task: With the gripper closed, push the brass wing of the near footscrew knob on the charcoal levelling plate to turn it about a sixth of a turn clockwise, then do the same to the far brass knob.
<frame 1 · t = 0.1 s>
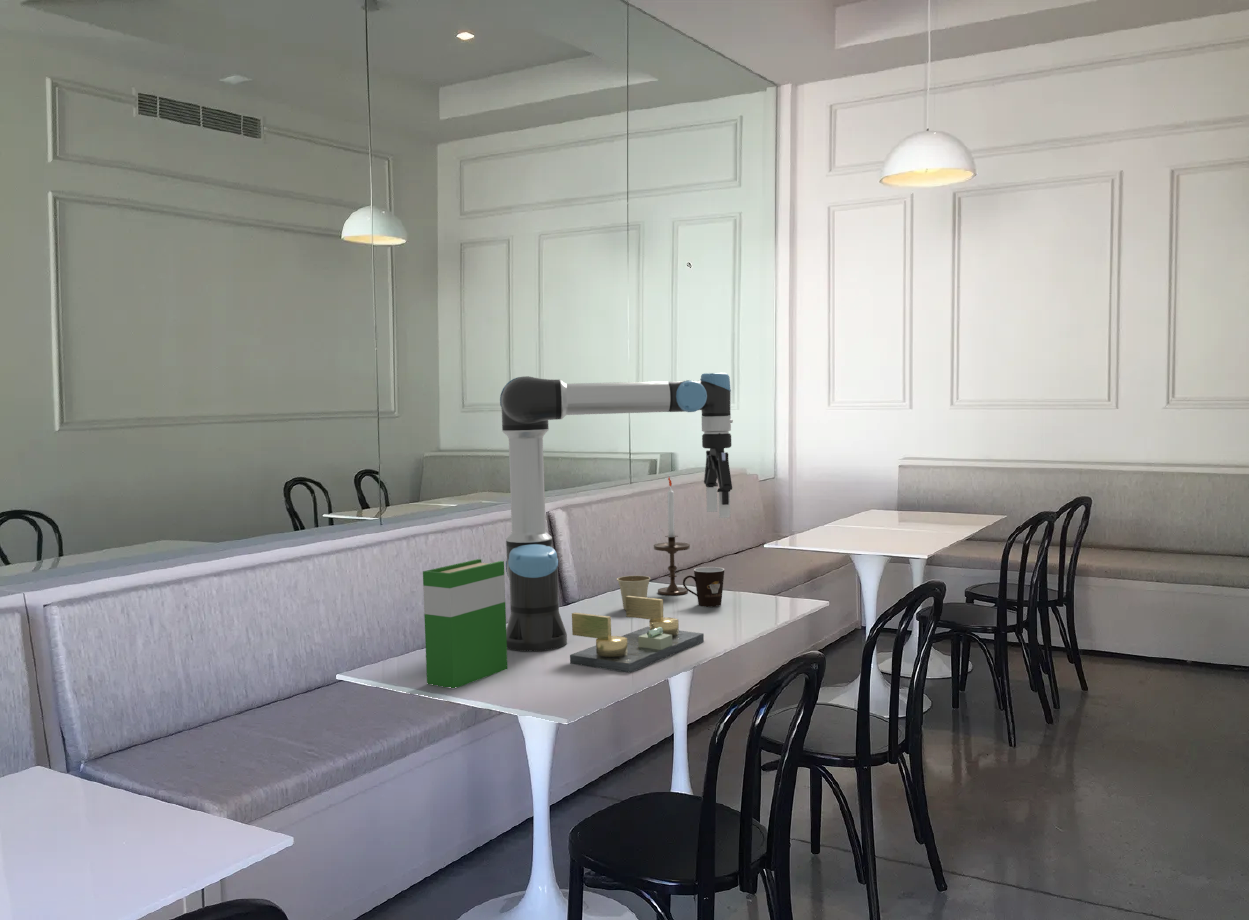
hand: (718, 514, 274), 28 cm above the table, fingers open, 13 cm apart
candlestick: (672, 593, 316), on the table
hardback book: (468, 677, 228), on the table
flower pot: (634, 609, 294), on the table
level plate: (639, 652, 245), on the table
far knob: (651, 615, 255), point 6 cm above the table, hinge at 0.0°
near knob: (598, 633, 237), point 6 cm above the table, hinge at 0.0°
coffee mug: (704, 605, 297), on the table
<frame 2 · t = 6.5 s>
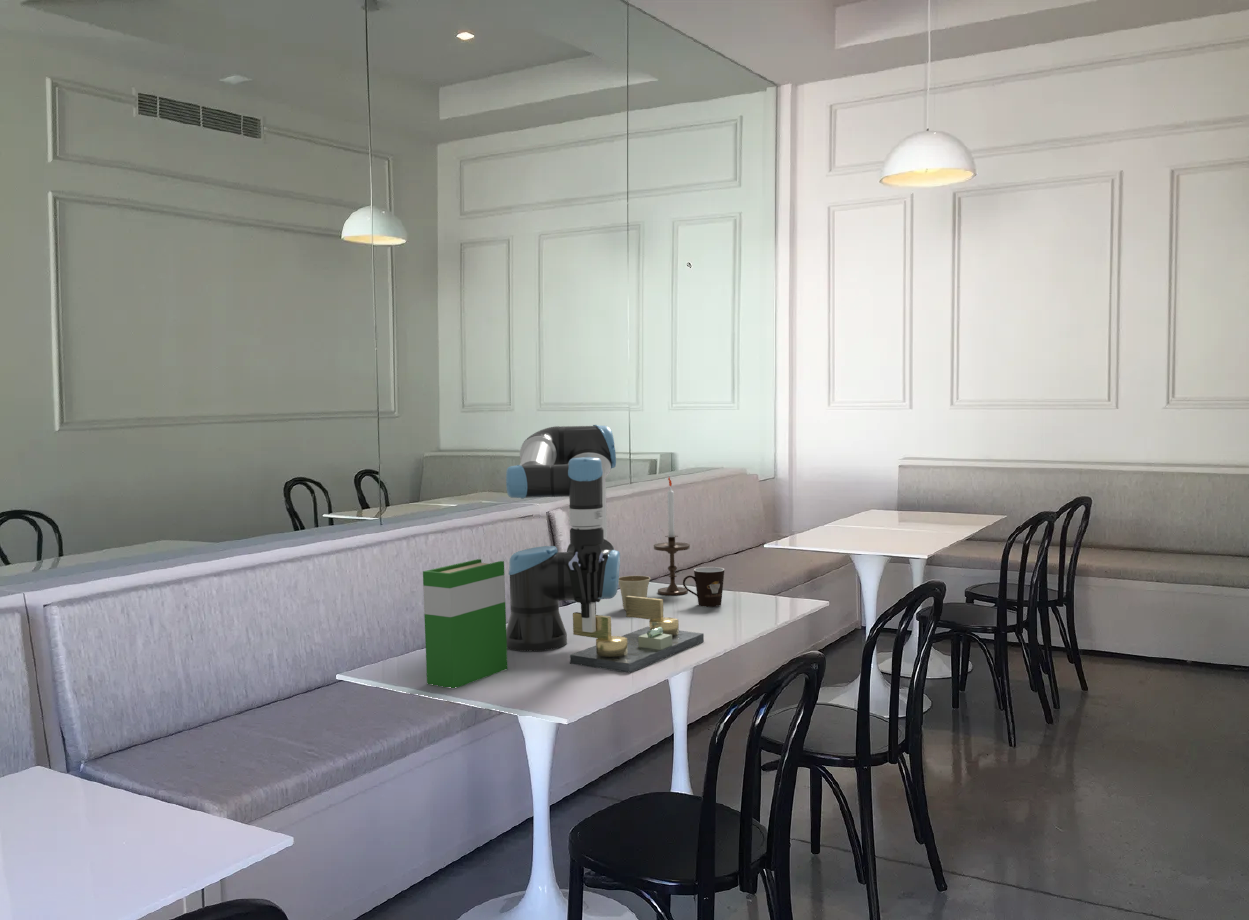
hand: (589, 631, 237), 7 cm above the table, fingers closed
near knob: (599, 633, 237), point 6 cm above the table, hinge at -2.1°, touching gripper
everything else where it was.
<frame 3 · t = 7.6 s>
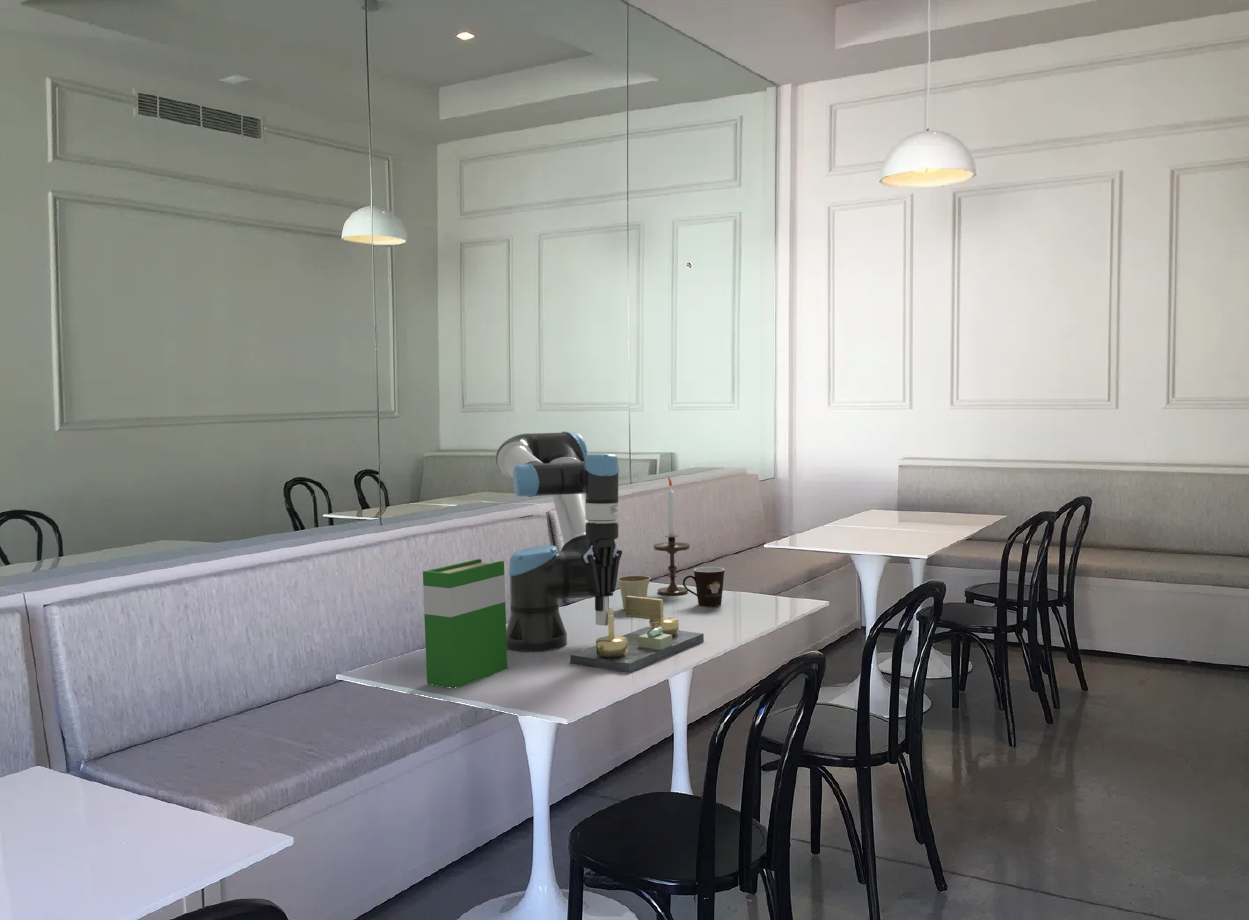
hand: (601, 624, 241), 7 cm above the table, fingers closed
near knob: (611, 631, 239), point 6 cm above the table, hinge at -54.4°, touching gripper
everything else where it was.
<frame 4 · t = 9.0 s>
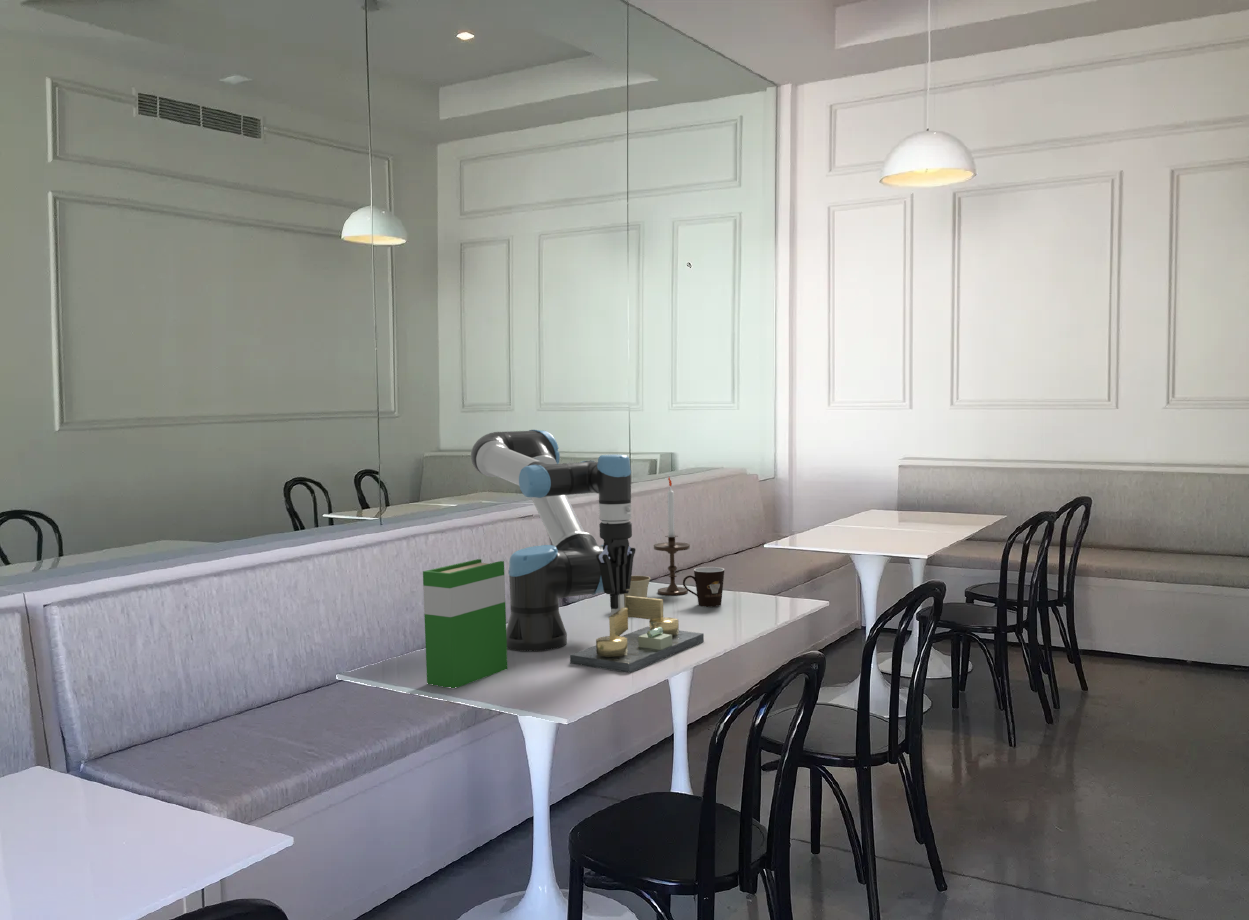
hand: (617, 621, 246), 7 cm above the table, fingers closed
near knob: (616, 631, 239), point 6 cm above the table, hinge at -73.2°, touching gripper
everything else where it was.
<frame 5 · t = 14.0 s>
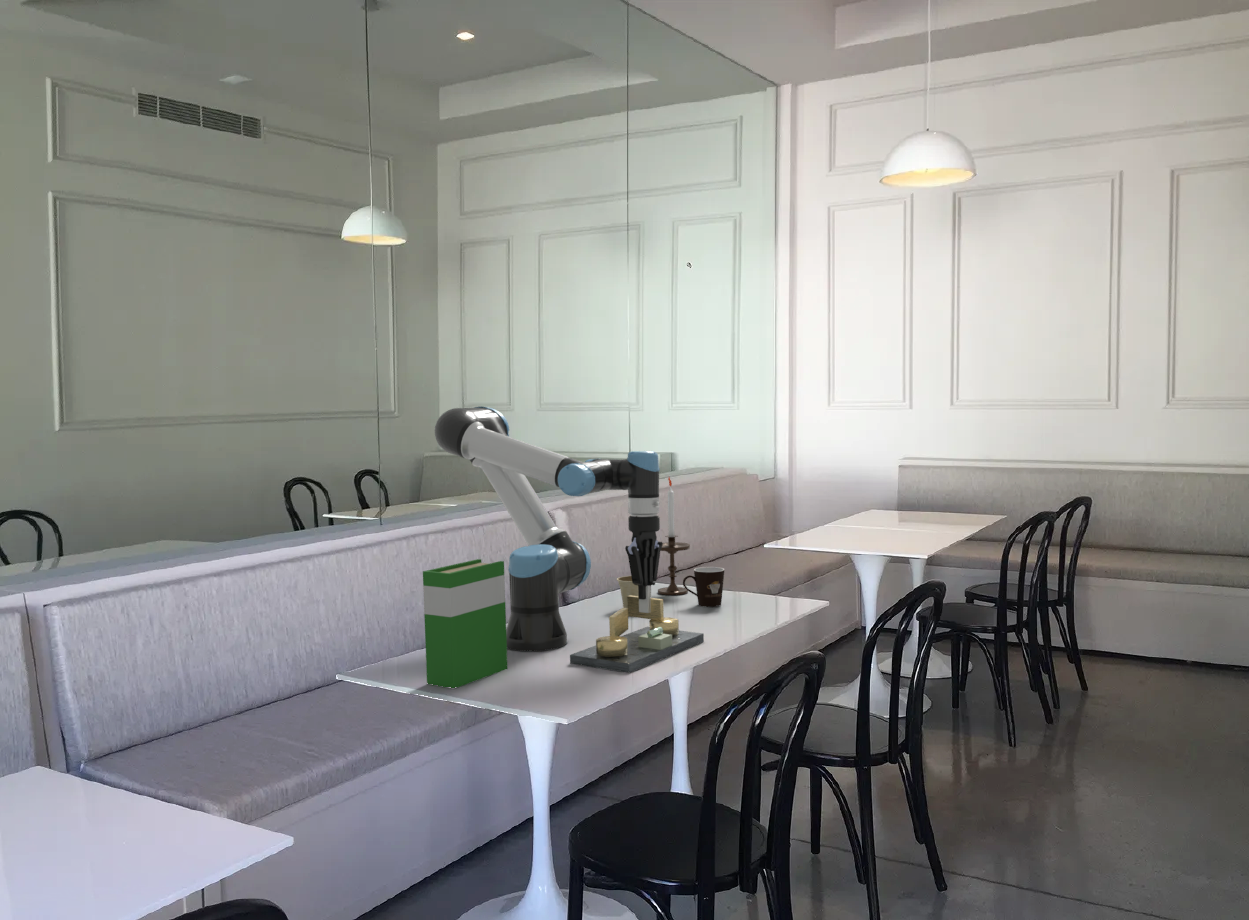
hand: (645, 612, 255), 7 cm above the table, fingers closed
far knob: (652, 614, 256), point 6 cm above the table, hinge at -3.9°, touching gripper
near knob: (616, 631, 239), point 6 cm above the table, hinge at -73.7°
everything else where it was.
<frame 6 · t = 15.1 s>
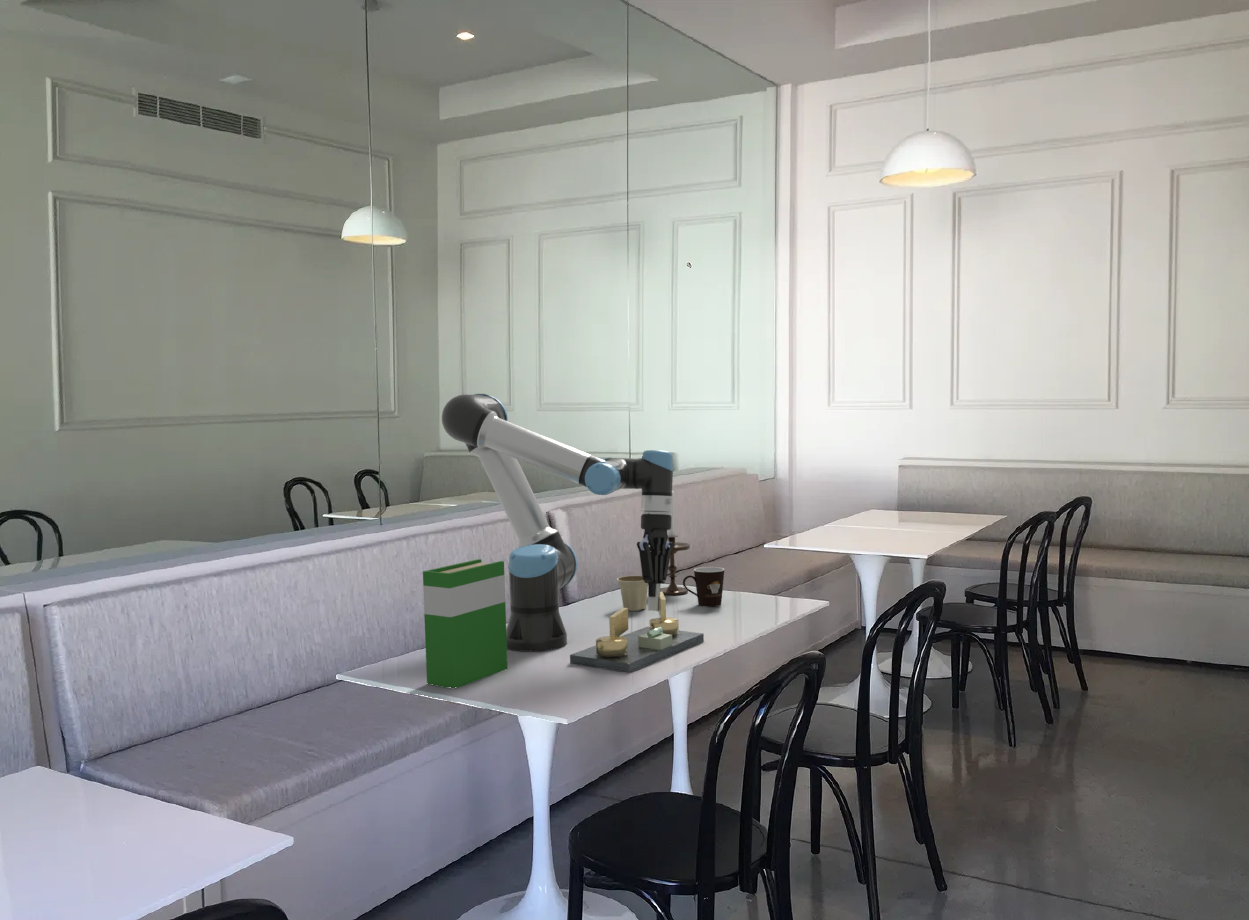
hand: (653, 610, 257), 7 cm above the table, fingers closed
far knob: (662, 613, 257), point 6 cm above the table, hinge at -53.4°, touching gripper
everything else where it was.
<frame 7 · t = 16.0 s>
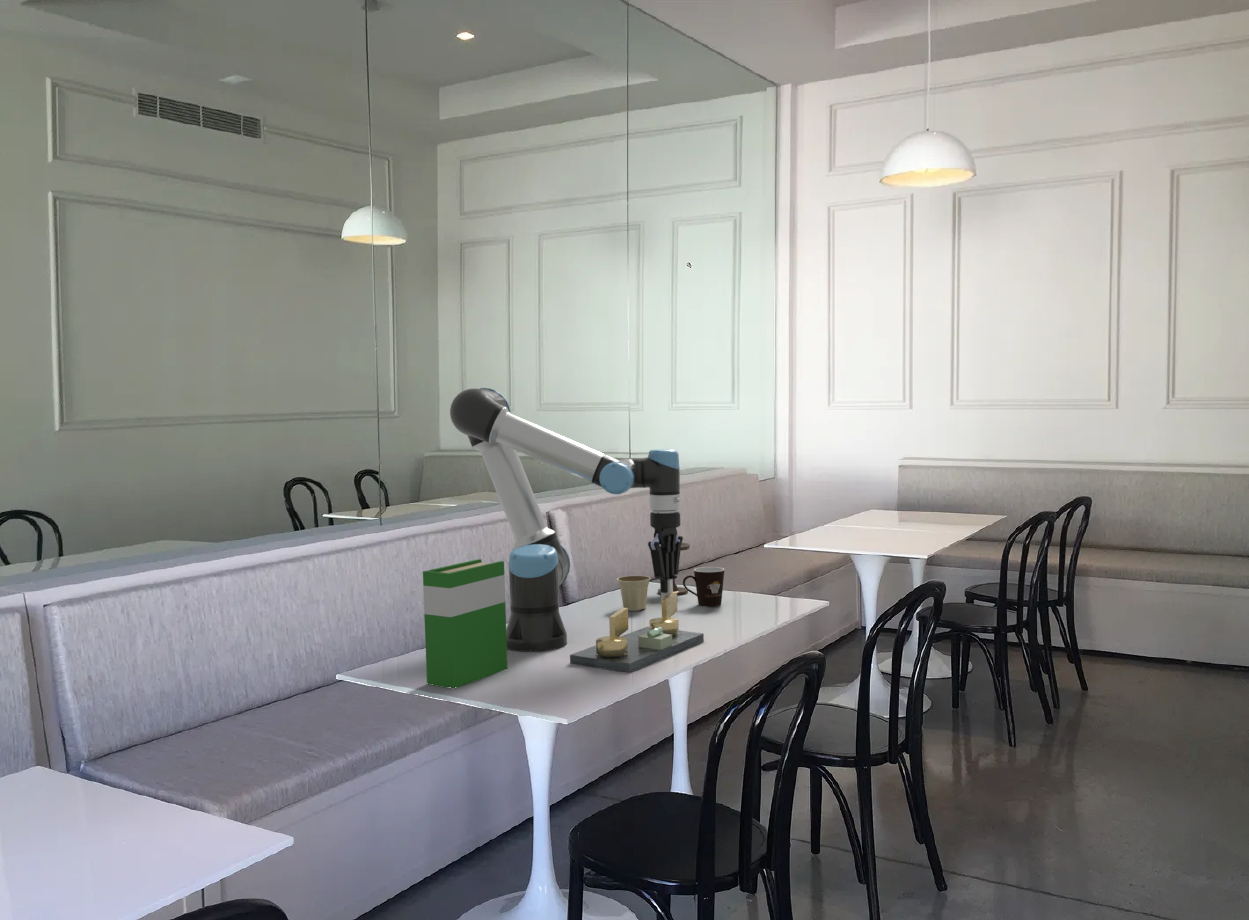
hand: (667, 604, 264), 7 cm above the table, fingers closed
far knob: (667, 613, 257), point 6 cm above the table, hinge at -73.2°, touching gripper
everything else where it was.
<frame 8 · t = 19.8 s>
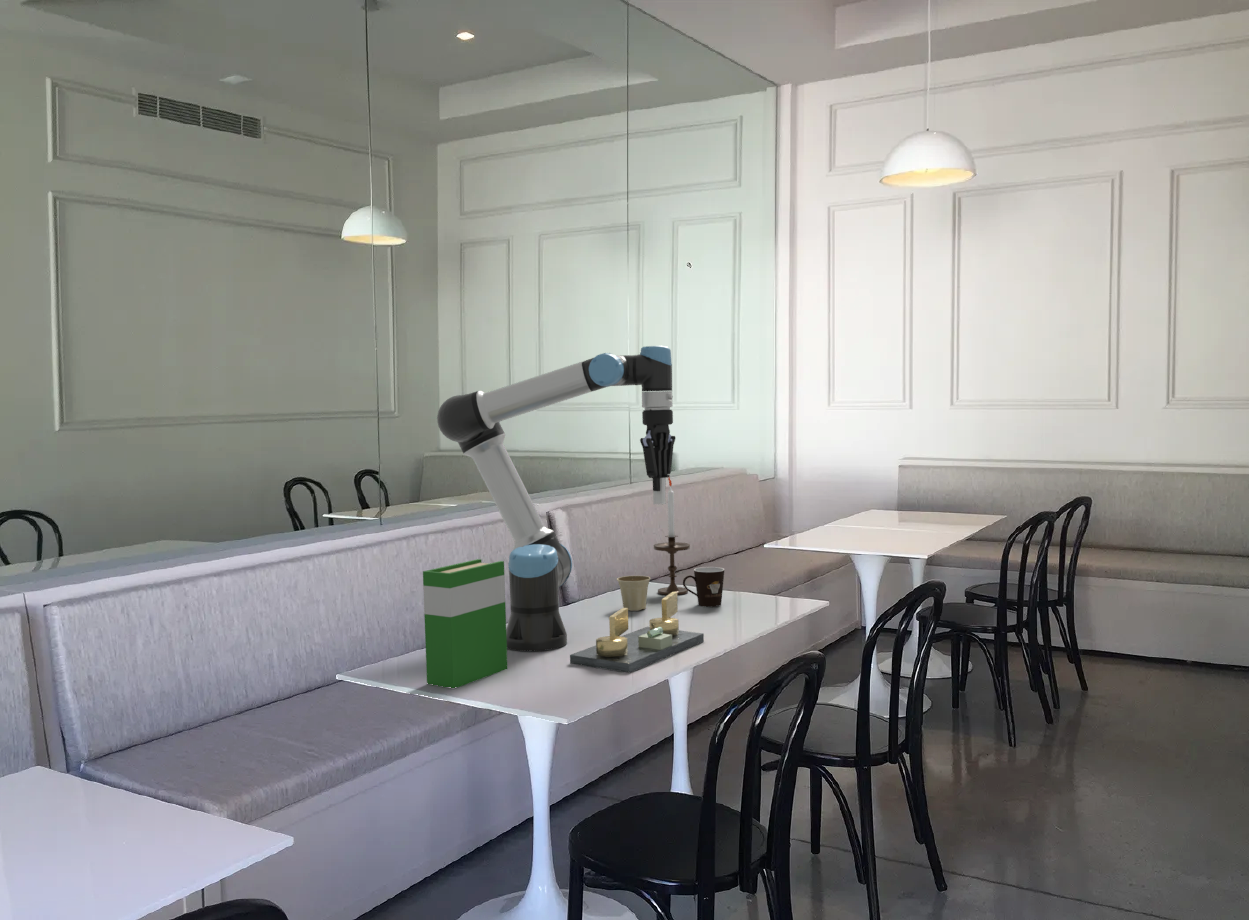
hand: (659, 503, 262), 32 cm above the table, fingers closed
far knob: (667, 613, 257), point 6 cm above the table, hinge at -73.8°
everything else where it was.
at the end: near knob at -74° (first picture: +0°); far knob at -74° (first picture: +0°) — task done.
